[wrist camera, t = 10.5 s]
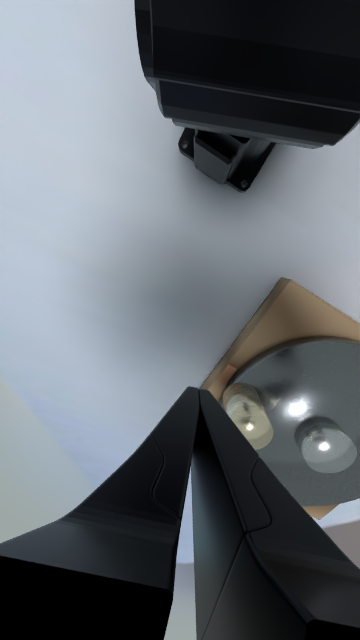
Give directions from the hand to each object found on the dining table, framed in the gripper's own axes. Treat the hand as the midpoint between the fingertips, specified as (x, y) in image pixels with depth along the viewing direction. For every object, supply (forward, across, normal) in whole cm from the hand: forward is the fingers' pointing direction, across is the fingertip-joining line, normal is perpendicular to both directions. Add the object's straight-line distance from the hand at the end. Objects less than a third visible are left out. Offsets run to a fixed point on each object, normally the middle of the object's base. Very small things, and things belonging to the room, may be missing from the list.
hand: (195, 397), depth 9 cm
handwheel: (+11, -12, +8) cm, 18 cm away
